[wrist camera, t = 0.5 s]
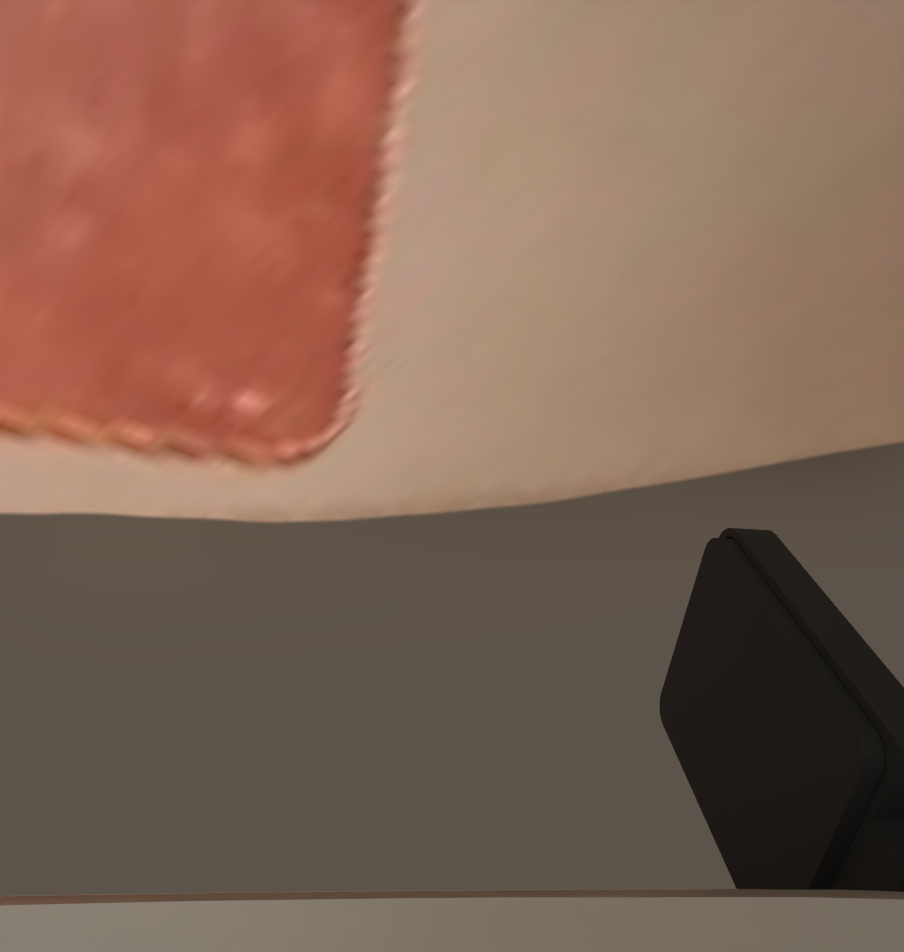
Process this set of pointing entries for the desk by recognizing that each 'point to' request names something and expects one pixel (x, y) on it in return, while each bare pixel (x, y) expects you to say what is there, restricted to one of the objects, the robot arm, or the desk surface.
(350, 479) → the desk surface
